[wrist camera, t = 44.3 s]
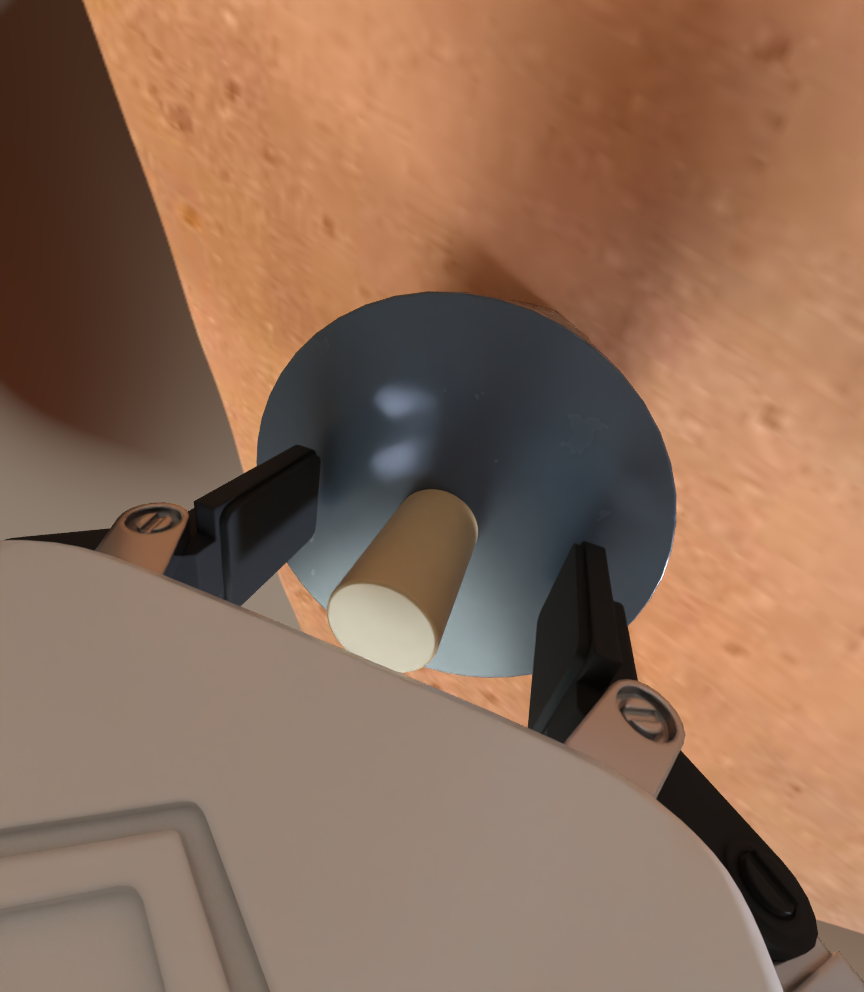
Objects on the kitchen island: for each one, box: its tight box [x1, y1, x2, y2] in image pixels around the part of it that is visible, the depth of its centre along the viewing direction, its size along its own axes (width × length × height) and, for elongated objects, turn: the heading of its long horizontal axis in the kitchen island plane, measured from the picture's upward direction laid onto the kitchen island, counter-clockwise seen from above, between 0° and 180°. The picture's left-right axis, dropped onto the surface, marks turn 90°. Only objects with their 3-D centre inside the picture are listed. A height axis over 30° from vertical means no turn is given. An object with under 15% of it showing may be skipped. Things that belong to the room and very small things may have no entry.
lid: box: [257, 292, 676, 678], centre depth 11 cm, size 13×13×6 cm
